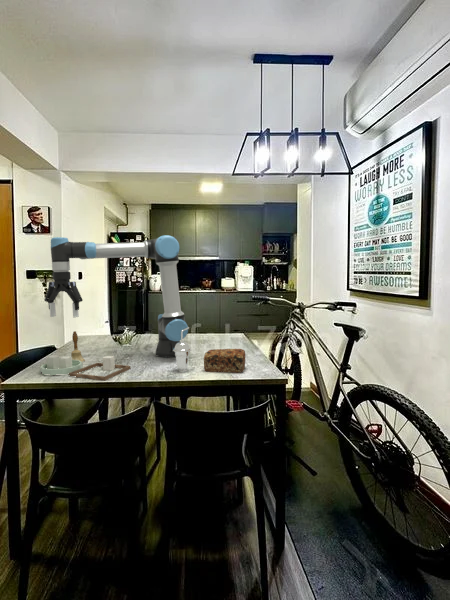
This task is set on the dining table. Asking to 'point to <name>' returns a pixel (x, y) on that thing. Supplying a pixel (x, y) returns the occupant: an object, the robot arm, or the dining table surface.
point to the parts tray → (99, 376)
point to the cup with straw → (182, 354)
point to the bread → (224, 360)
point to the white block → (65, 362)
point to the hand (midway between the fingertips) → (64, 316)
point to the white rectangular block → (53, 362)
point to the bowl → (75, 366)
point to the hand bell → (76, 349)
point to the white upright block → (108, 363)
